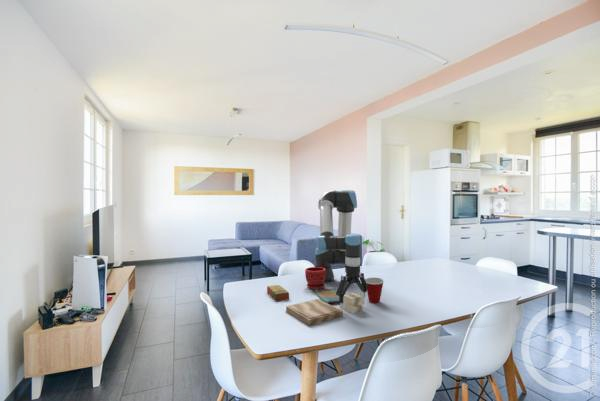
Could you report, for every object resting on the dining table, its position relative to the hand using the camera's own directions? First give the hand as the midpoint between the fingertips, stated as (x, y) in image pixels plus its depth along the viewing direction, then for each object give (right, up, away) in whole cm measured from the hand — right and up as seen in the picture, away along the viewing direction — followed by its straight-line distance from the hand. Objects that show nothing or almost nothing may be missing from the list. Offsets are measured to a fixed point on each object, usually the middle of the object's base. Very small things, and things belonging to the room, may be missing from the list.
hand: (352, 306), depth 150 cm
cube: (0, -2, 0) cm, 2 cm away
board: (-20, -1, -6) cm, 21 cm away
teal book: (-8, -2, +19) cm, 21 cm away
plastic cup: (+14, -2, +12) cm, 18 cm away
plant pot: (-17, -1, +37) cm, 41 cm away
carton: (-40, -2, +21) cm, 45 cm away
